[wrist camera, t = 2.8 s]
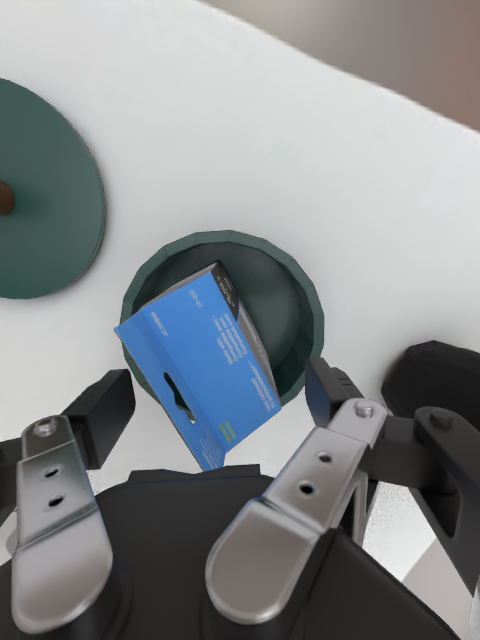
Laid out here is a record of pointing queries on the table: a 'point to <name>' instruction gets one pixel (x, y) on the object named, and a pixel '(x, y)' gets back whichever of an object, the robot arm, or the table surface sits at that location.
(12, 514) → the usb wall charger
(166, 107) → the table surface
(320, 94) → the table surface
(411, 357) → the portable speaker
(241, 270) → the bowl
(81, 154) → the lid
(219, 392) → the tape cartridge
